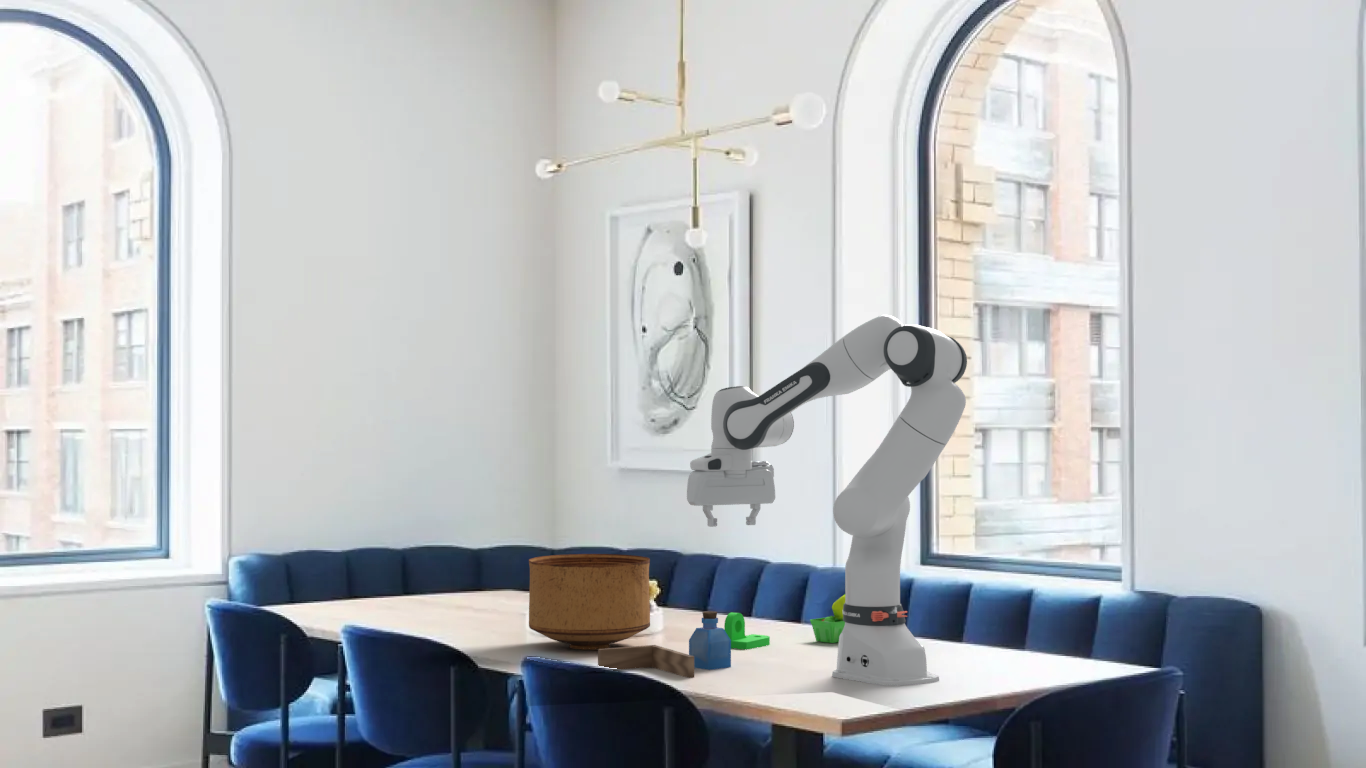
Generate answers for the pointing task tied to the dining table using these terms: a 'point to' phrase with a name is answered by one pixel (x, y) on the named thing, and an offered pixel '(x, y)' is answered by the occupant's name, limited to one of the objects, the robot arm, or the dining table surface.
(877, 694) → the dining table surface
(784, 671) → the dining table surface
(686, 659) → the l-shaped wooden board
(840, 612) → the fruit basket
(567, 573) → the pot
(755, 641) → the mechanical part
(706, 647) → the perfume bottle
